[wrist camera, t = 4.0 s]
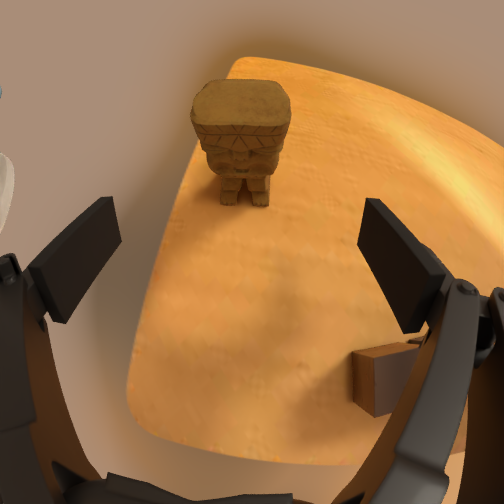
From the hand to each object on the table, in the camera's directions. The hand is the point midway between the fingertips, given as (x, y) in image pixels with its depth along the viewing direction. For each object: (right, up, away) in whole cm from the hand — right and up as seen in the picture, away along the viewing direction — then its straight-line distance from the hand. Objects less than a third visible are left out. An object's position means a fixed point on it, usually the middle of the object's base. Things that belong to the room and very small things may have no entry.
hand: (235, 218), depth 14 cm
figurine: (0, +6, +19) cm, 20 cm away
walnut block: (+15, -15, +13) cm, 25 cm away
